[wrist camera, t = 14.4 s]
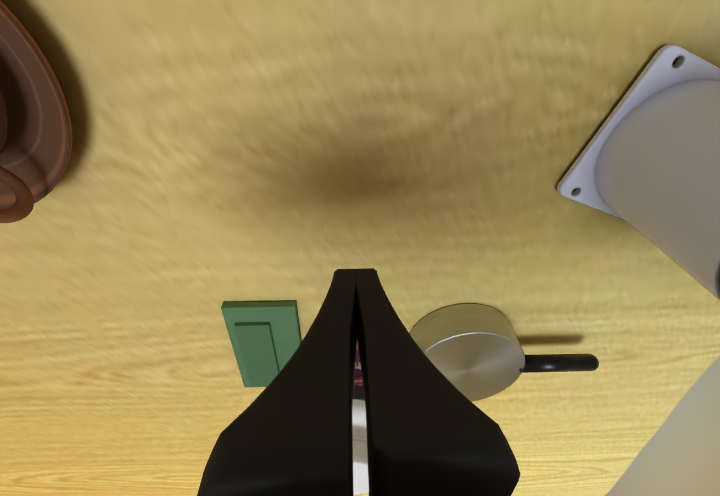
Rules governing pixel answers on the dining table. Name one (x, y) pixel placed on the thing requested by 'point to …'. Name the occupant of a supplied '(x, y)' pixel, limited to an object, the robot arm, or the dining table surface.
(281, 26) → the dining table surface
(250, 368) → the green light switch
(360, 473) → the pill bottle
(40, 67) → the cup and saucer
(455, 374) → the pan
